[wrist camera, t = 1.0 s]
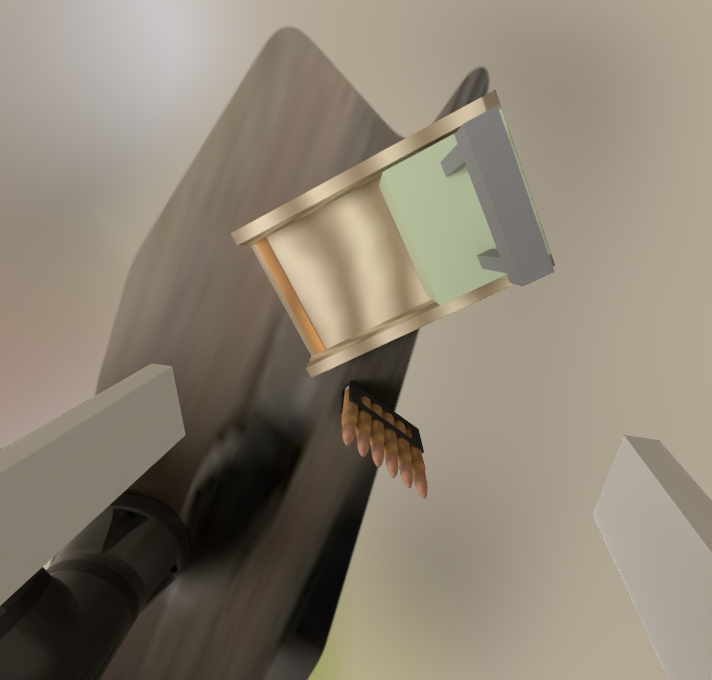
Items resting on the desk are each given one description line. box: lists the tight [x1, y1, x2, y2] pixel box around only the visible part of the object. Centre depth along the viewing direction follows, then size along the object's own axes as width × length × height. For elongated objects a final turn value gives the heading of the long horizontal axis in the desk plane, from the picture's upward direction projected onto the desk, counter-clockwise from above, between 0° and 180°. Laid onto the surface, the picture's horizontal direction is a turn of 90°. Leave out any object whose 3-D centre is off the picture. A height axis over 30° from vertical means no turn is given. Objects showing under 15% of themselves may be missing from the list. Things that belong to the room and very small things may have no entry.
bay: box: [231, 90, 555, 378], centre depth 35 cm, size 26×16×5 cm, turn 116°
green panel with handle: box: [379, 105, 554, 305], centre depth 28 cm, size 10×12×16 cm
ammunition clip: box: [340, 381, 427, 498], centre depth 37 cm, size 11×2×12 cm, turn 53°
